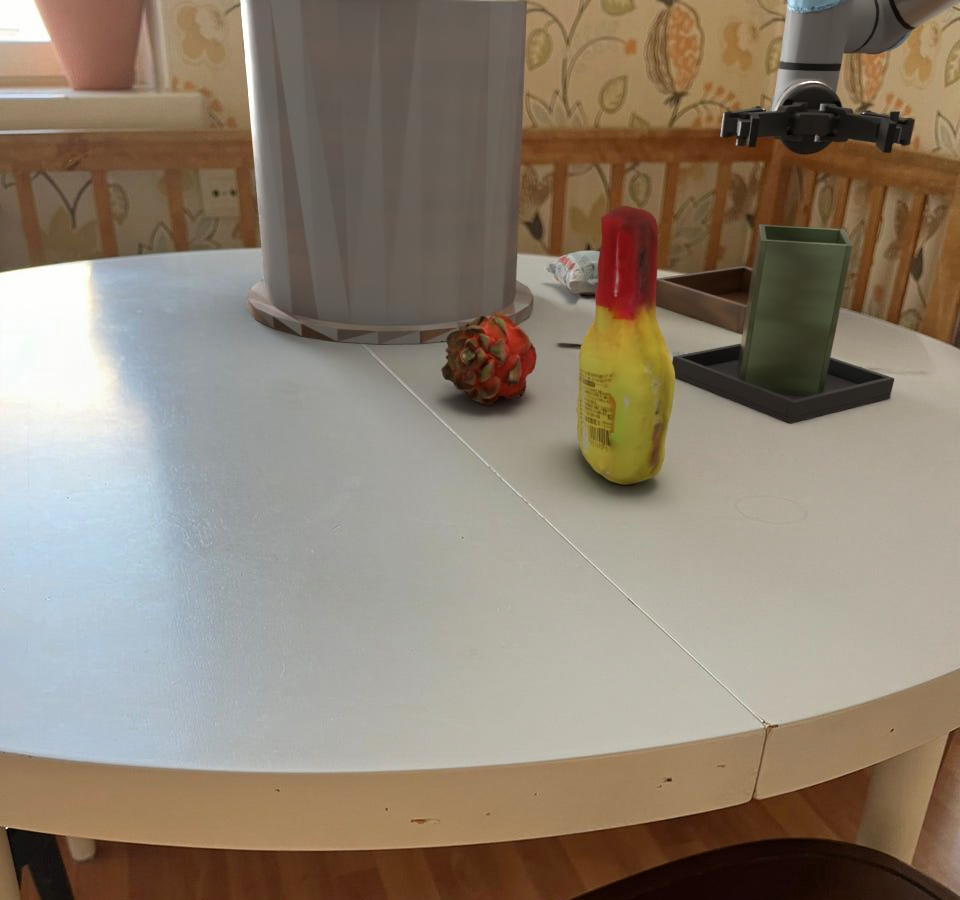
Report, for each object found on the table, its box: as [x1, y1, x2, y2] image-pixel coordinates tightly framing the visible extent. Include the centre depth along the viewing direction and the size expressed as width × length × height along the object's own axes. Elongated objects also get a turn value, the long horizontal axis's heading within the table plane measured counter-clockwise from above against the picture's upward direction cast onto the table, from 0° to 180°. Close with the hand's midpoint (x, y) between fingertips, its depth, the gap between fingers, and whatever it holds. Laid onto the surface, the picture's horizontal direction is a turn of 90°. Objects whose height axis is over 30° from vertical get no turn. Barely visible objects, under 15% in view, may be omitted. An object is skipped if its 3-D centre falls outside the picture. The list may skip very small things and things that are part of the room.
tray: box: [671, 342, 895, 424], centre depth 104 cm, size 16×14×2 cm
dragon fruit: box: [440, 313, 537, 406], centre depth 99 cm, size 8×8×12 cm
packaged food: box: [544, 249, 600, 296], centre depth 135 cm, size 9×12×5 cm
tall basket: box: [738, 223, 853, 396], centre depth 101 cm, size 8×8×14 cm
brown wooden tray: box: [656, 265, 753, 335], centre depth 128 cm, size 16×16×4 cm
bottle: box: [576, 205, 676, 486], centre depth 81 cm, size 12×6×20 cm, turn 13°
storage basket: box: [240, 0, 534, 345], centre depth 121 cm, size 35×35×32 cm
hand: (821, 135), depth 108 cm, fingers open, 13 cm apart
